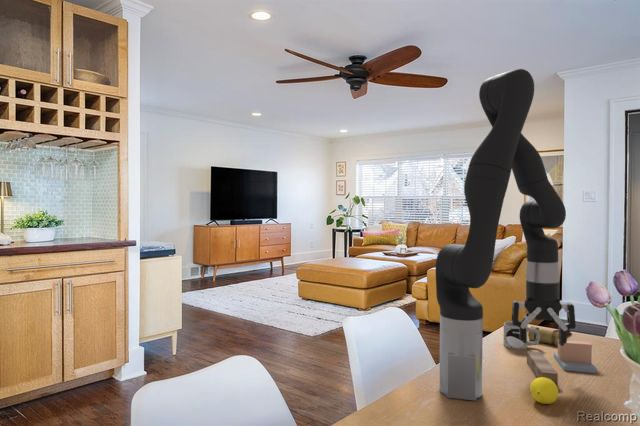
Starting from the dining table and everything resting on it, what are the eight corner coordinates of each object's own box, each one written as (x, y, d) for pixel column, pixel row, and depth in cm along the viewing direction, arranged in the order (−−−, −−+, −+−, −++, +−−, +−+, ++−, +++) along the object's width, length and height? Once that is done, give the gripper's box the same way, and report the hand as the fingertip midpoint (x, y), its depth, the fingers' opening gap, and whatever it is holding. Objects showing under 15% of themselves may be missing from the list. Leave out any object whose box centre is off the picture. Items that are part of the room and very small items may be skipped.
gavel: (554, 320, 155) (586, 326, 148) (554, 334, 155) (586, 340, 148) (528, 326, 142) (561, 333, 134) (527, 341, 141) (561, 349, 134)
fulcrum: (596, 373, 113) (597, 349, 113) (564, 370, 115) (564, 347, 115) (583, 359, 124) (583, 337, 124) (553, 356, 126) (554, 335, 126)
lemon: (535, 397, 100) (537, 372, 101) (562, 404, 96) (563, 379, 97) (523, 402, 95) (525, 376, 96) (551, 410, 91) (552, 383, 92)
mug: (504, 348, 133) (505, 326, 133) (502, 342, 140) (502, 321, 140) (541, 351, 131) (541, 329, 130) (537, 345, 137) (537, 323, 137)
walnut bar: (557, 388, 104) (557, 373, 104) (541, 387, 105) (541, 372, 105) (540, 365, 120) (541, 352, 120) (526, 364, 121) (527, 351, 121)
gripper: (514, 280, 111) (514, 346, 111) (578, 282, 107) (578, 350, 107) (509, 276, 118) (510, 337, 118) (569, 277, 114) (570, 341, 115)
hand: (542, 343), depth 113 cm, fingers open, 8 cm apart
